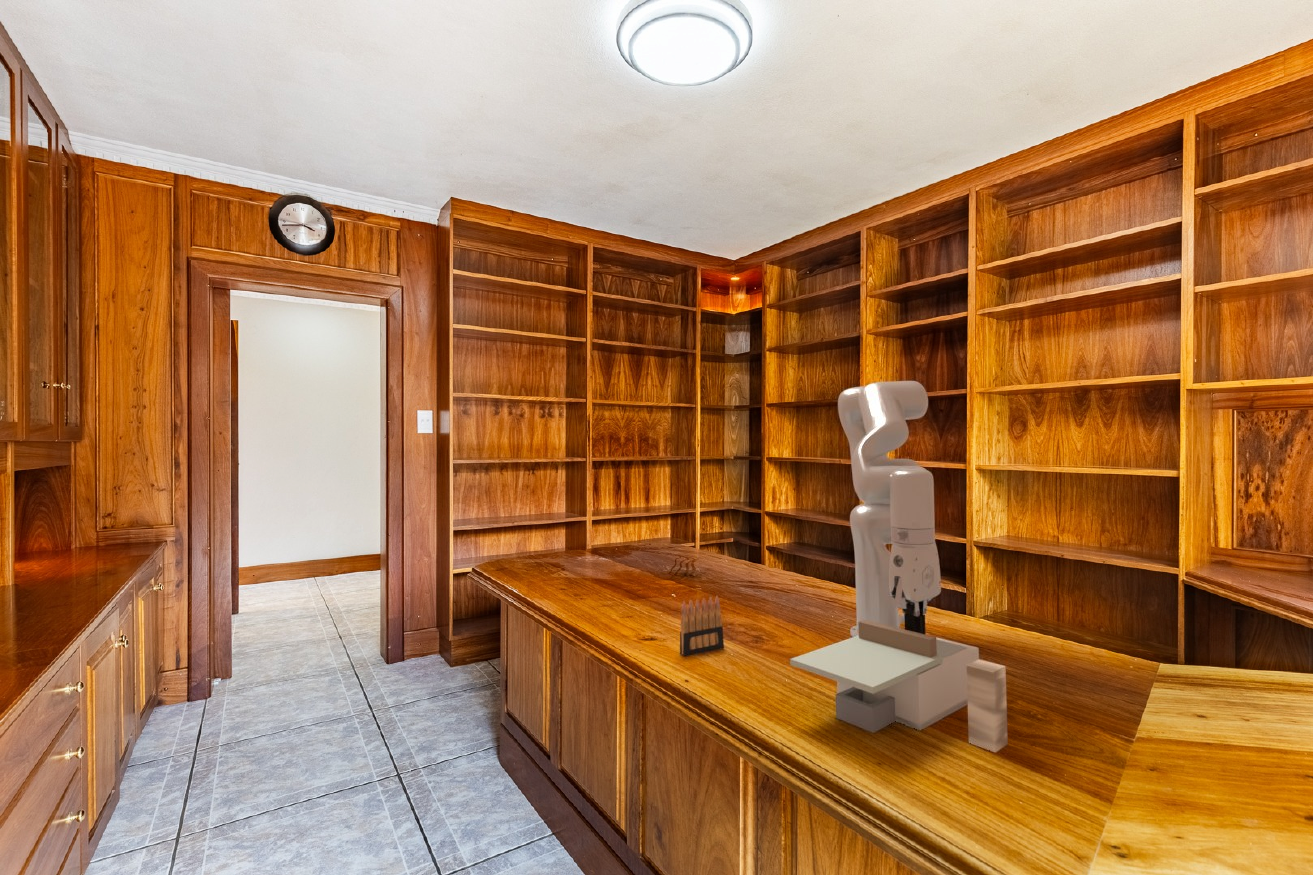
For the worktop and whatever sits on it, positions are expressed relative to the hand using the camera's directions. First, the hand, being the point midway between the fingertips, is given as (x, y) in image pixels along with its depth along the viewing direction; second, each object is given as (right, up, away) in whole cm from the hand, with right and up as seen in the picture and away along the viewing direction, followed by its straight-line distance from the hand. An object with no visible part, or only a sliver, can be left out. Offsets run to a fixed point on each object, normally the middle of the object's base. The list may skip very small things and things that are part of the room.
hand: (915, 635), depth 116 cm
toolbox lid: (-12, -2, -10) cm, 16 cm away
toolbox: (-5, -11, -4) cm, 12 cm away
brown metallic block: (+3, -11, -19) cm, 22 cm away
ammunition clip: (-37, -12, +26) cm, 47 cm away
